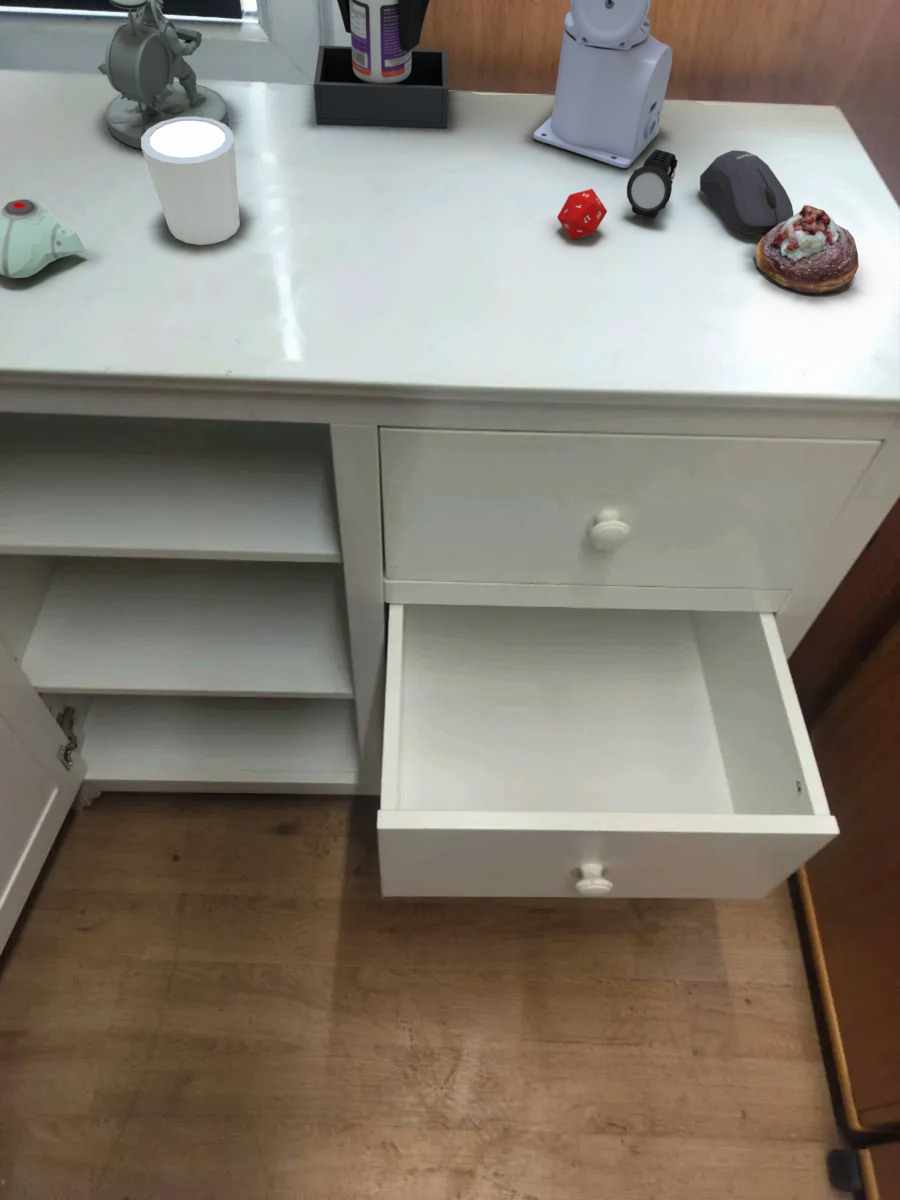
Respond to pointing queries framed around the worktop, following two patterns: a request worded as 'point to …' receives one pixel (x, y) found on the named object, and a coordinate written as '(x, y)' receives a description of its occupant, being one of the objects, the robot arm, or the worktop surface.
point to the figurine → (153, 73)
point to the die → (582, 214)
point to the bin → (381, 92)
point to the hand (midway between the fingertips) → (381, 37)
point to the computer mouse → (746, 192)
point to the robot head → (32, 239)
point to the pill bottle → (377, 42)
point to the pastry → (808, 253)
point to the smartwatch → (652, 184)
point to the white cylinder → (194, 177)
